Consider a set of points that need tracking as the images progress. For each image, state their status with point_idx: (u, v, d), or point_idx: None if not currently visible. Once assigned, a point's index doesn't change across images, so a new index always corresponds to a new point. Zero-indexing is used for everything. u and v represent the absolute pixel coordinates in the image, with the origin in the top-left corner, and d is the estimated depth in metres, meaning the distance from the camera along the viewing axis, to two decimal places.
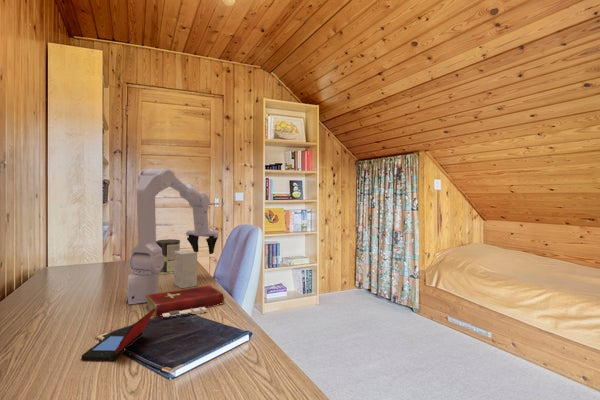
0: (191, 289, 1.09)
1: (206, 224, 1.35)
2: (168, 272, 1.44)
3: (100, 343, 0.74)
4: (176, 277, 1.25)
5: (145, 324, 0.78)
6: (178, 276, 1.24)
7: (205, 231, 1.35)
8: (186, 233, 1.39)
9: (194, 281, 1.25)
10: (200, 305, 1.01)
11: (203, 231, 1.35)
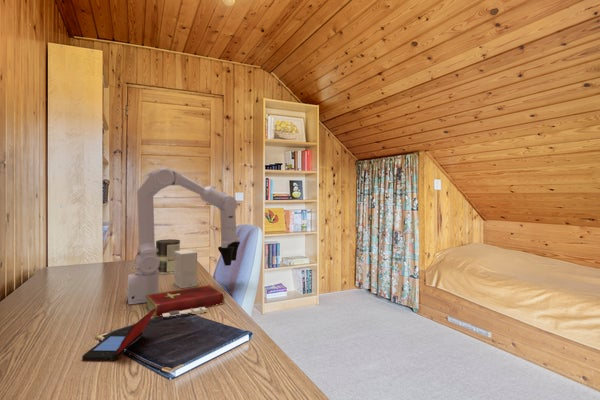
0: (191, 289, 1.09)
1: (225, 231, 1.22)
2: (168, 272, 1.44)
3: (100, 343, 0.74)
4: (176, 277, 1.25)
5: (145, 324, 0.78)
6: (178, 276, 1.24)
7: (224, 238, 1.22)
8: None
9: (194, 281, 1.25)
10: (200, 305, 1.01)
11: (222, 238, 1.23)
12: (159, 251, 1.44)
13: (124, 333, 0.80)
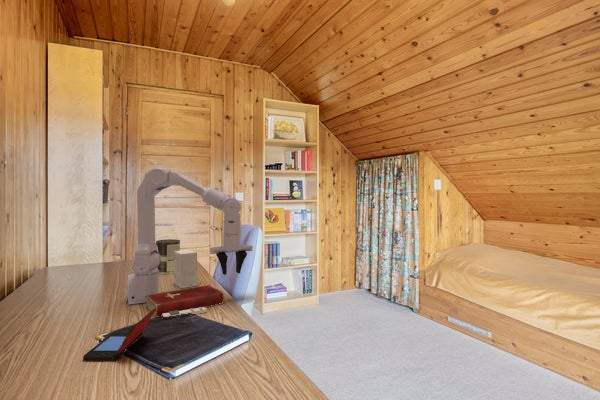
0: (190, 289, 1.09)
1: (223, 236, 1.10)
2: (168, 272, 1.44)
3: (101, 343, 0.74)
4: (176, 277, 1.25)
5: (146, 324, 0.78)
6: (178, 276, 1.24)
7: (223, 244, 1.11)
8: None
9: (194, 281, 1.25)
10: (200, 305, 1.01)
11: None
12: (159, 251, 1.44)
13: (124, 333, 0.80)
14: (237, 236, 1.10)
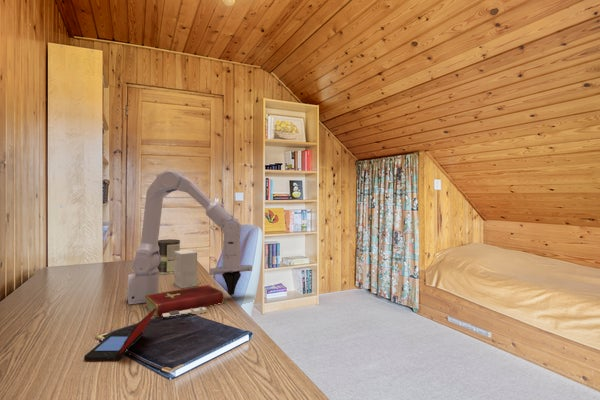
0: (190, 289, 1.09)
1: (223, 257, 1.10)
2: (168, 272, 1.44)
3: (101, 343, 0.74)
4: (176, 277, 1.25)
5: (146, 324, 0.79)
6: (178, 276, 1.24)
7: None
8: None
9: (194, 281, 1.25)
10: (200, 304, 1.01)
11: None
12: (159, 251, 1.44)
13: (124, 333, 0.79)
14: (237, 257, 1.10)
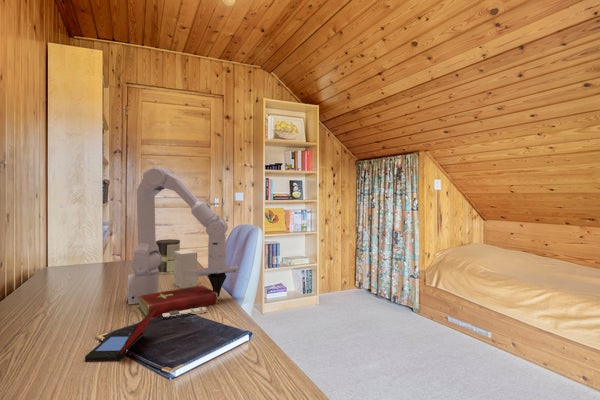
0: (184, 289, 1.08)
1: (208, 258, 1.08)
2: (168, 272, 1.44)
3: (102, 344, 0.74)
4: (176, 277, 1.25)
5: (146, 324, 0.79)
6: (178, 276, 1.24)
7: None
8: None
9: (194, 281, 1.25)
10: (193, 305, 1.00)
11: None
12: (159, 251, 1.44)
13: (124, 333, 0.79)
14: (222, 258, 1.07)
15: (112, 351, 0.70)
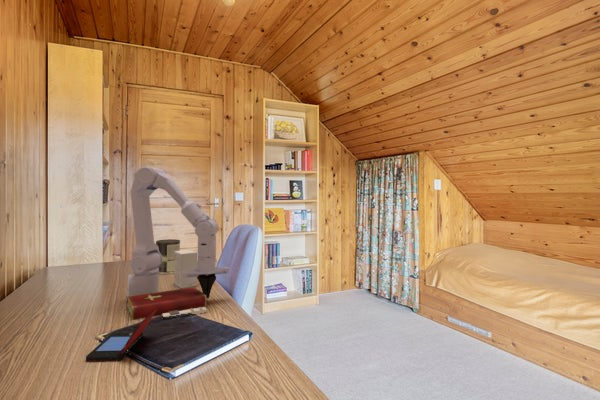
0: (174, 291, 1.07)
1: None
2: (168, 272, 1.44)
3: (102, 344, 0.74)
4: (176, 277, 1.25)
5: (147, 324, 0.79)
6: (178, 276, 1.24)
7: None
8: None
9: (194, 281, 1.25)
10: (180, 308, 0.98)
11: None
12: (159, 251, 1.44)
13: (124, 333, 0.79)
14: (212, 259, 1.05)
15: (113, 351, 0.70)
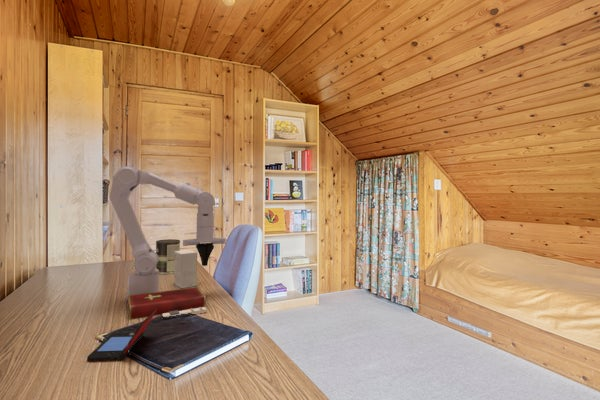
0: (175, 291, 1.07)
1: None
2: (168, 272, 1.44)
3: (103, 344, 0.73)
4: (176, 277, 1.25)
5: (147, 323, 0.79)
6: (178, 276, 1.24)
7: None
8: None
9: (194, 281, 1.25)
10: (179, 308, 0.98)
11: None
12: (159, 251, 1.44)
13: (124, 333, 0.79)
14: (210, 229, 1.13)
15: (114, 351, 0.70)
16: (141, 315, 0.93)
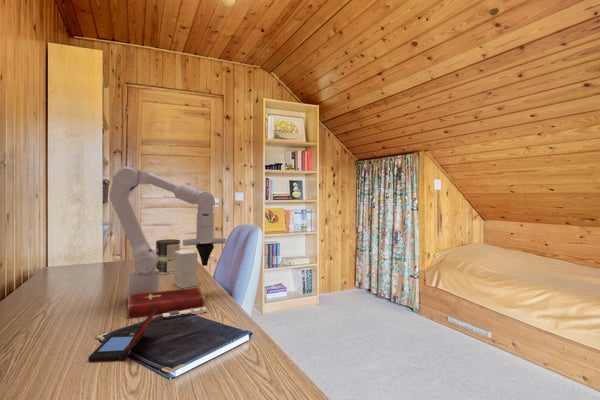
0: (176, 291, 1.07)
1: None
2: (168, 272, 1.44)
3: (103, 344, 0.73)
4: (176, 277, 1.25)
5: (148, 323, 0.79)
6: (178, 276, 1.24)
7: None
8: None
9: (194, 281, 1.25)
10: (177, 308, 0.97)
11: None
12: (159, 251, 1.44)
13: (124, 333, 0.79)
14: (210, 229, 1.13)
15: (116, 351, 0.70)
16: (139, 314, 0.93)
